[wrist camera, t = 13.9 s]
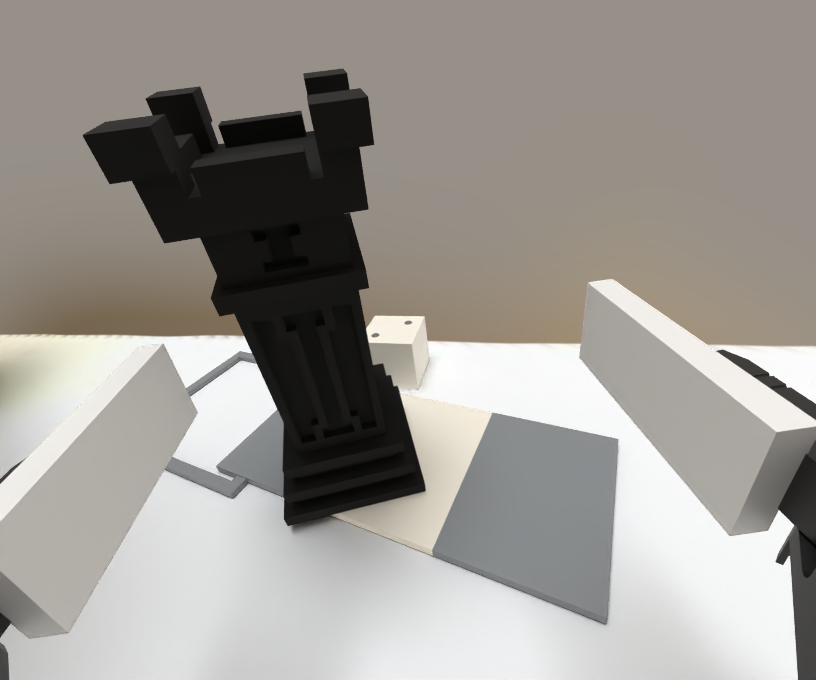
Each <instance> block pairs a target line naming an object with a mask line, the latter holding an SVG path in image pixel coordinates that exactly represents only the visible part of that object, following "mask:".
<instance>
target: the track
mask: <svg viewBox="0 0 816 680" xmlns="http://www.w3.org/2000/svg"><path fill="white" fill-rule="evenodd" d="M400 396H401V399H402V403H403V407H404V410H405V414H406V417H407V421H408V424H409V428H410V432H411V435H412V439H413V442H414V446H415V450H416V453H417V457H418V460H419V464H420V467H421V471H422V475H423V478H424V482H425V488H426V491H424V492H420V493H416V494H413V495H409V496H405V497H401V498H397V499H393V500H389V501H385V502H381V503H377V504H373V505H369V506H365V507H361V508H357V509H353V510H349V511H345V512H341V513H337V514H333V515H331V516H333V517H336V518H338V519H341V520H343V521H346V522H348V523H351V524H353V525H356V526H358V527H361V528H364V529H366V530H369V531H371V532H374V533H376V534H379V535H381V536H384V537H386V538H389V539H391V540H394V541H396V542H399V543H401V544H404V545H407V546H409V547H412V548H414V549H417V550H419V551H422V552H424V553H427V554H429V555H432V556H434V557H437V558H439V559H442V560H444V561H447V562H450V563H452V564H455V565H457V566H460V567H462V568H465V569H467V570H470V571H472V572H475V573H477V574H480V575H482V576H485V577H488V578H490V579H493V580H495V581H498V582H500V583H503V584H505V585H508V586H510V587H513V588H515V589H518V590H520V591H523V592H525V593H528V594H531V595H533V596H536V597H538V598H541V599H543V600H546V601H548V602H551V603H553V604H556V605H558V606H561V607H563V608H566V609H569V610H571V611H574V612H576V613H579V614H581V615H584V616H586V617H589V618H591V619H594V620H596V621H599V622H601V623H604V624H606V621H607V614H608V598H609V582H610V566H611V550H612V534H613V518H614V502H615V485H616V469H617V453H618V439H615V438H611V437H606V436H601V435H596V434H592V433H587V432H582V431H577V430H573V429H568V428H563V427H559V426H554V425H549V424H544V423H540V422H535V421H530V420H525V419H521V418H516V417H511V416H506V415H502V414H497V413H492V412H487V411H483V410H478V409H473V408H468V407H464V406H459V405H454V404H449V403H445V402H440V401H435V400H431V399H426V398H421V397H416V396H412V395H407V394H402V393H400ZM283 428H284V423H283V420H282V418H281V416H280V414H279V411H278V410H277V411H276V412H274V413H273V414H272V415H271V416H270V417H269V418H268V419H267V420H266V421H265V422H264V423H263V424H261V425H260V426H259V427H258V428H257V429H256V430H255V431H254V432H253V433H252V434H251V435H249V436H248V437H247V438H246V439H245V440H244V441H243V442H242V443H241V444H240V445H239V446H238V447H236V448H235V449H234V450H233V451H232V452H231V453H230V454H229V455H228V456H227V457H226V458H224V459H223V460H222V461H221V462H220V463H219V464H218V465H217V466H216V467H217V469H218V471H219V472H222V473H224V474H227V475H229V476H232V477H234V478H235V477H236V476H237V475H238V476H240V477H243V478H246V480H247V482H248V483H250V484H252V485H255V486H257V487H260V488H262V489H265V490H267V491H270V492H272V493H275V494H277V495H280V496H283V485H284V473H283V471H282V469H283ZM283 497H284V496H283Z"/></svg>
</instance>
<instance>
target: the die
mask: <svg viewBox="0 0 816 680" xmlns="http://www.w3.org/2000/svg"><path fill="white" fill-rule="evenodd" d="M366 331H367V337H368V342H369V347H370V352H371V357H372V363H373V365H376V364H381V363H383V364H384V368H385V372H386V376H388V375H391V378H392V381H393V385H394V386H397V385H398V389H409V390H418V389H419V386H420V383H421V381H422V378H423V375H424V373H425V370H426V367H427V365H428V362H429V352H428V343H427V334H426V326H425V317H424V316H423V317H421V316H420V317H419V316H375V317H374V318H373V320H372V321H371V323H370V324H369V326H368V327H367V329H366Z"/></svg>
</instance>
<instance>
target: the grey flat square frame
mask: <svg viewBox="0 0 816 680" xmlns="http://www.w3.org/2000/svg"><path fill="white" fill-rule="evenodd" d="M240 360H244V361H249V362H253V363H256V361H255V358H254V356H253V354H251V353H246V352H241V351H240V352H238V353H237V354H235V355H234V356H232V357H231V358H230V359H228V360H227V361H225V362H224V363H222V364H221V365H219V366H218V367H216V368H215V369H214V370H212V371H211V372H209V373H208V374H206V375H205V376H203V377H202V378H201V379H199V380H198V381H196V382H195V383H193V384H192V385H190V386H189V387H187V388H186V390H187V392H188V394H189V396H191V395H192V394H194V393H195V392H197V391H198V390H199V389H201V388H202V387H204V386H205V385H206V384H208V383H209V382H211V381H212V380H213V379H215V378H216V377H218V376H219V375H220V374H222V373H223V372H225V371H226V370H227V369H229V368H230V367H232V366H233V365H234V364H236V363H237V362H239V361H240ZM165 470H167V471H170V472H172V473H174V474H177V475H179V476H181V477H184V478H186V479H188V480H191V481H193V482H195V483H198V484H200V485H202V486H205V487H207V488H209V489H212V490H214V491H216V492H219V493H221V494H223V495H226V496H228V497H230V498H234V497H235V496H236V495H237V494H238V493H239V492H240V491H241V490H242V489H243V488H244V487H245V486H246V484H247V483H248V482H247V480H246V478H243V477H240V476H238V475H237V476H236V477H235V478H234V479H233V480H232V481H230V480H228V479H225V478H223V477H220V476H218V475H215V474H213V473H210V472H208V471H205V470H203V469H200V468H198V467H195V466H193V465H190V464H188V463H185V462H183V461H180V460H178V459H175V458H173V457H172V458H171V459H170V461H169V463H168V464H167V466H166V468H165Z"/></svg>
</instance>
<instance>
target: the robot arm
mask: <svg viewBox="0 0 816 680" xmlns="http://www.w3.org/2000/svg"><path fill="white" fill-rule="evenodd" d="M579 358H580V359H581V360H582V361H583V363H584V364H585V365H586V366H587V367H588V369H589V370H590V371H591V372H592V373H593V374H594V376H595V377H596V378H597V379H598V380H599V382H600V383H601V384H602V385H603V386H604V388H605V389H606V390H607V391H608V392H609V393H610V395H611V396H612V397H613V398H614V399H615V401H616V402H617V403H618V404H619V405H620V407H621V408H622V409H623V410H624V411H625V412H626V414H627V415H628V416H629V417H630V418H631V420H632V421H633V422H634V423H635V424H636V426H637V427H638V428H639V429H640V430H641V431H642V433H643V434H644V435H645V436H646V437H647V439H648V440H649V441H650V442H651V443H652V445H653V446H654V447H655V448H656V449H657V450H658V452H659V453H660V454H661V455H662V456H663V458H664V459H665V460H666V461H667V462H668V464H669V465H670V466H671V467H672V468H673V469H674V471H675V472H676V473H677V474H678V475H679V477H680V478H681V479H682V480H683V481H684V483H685V484H686V485H687V486H688V487H689V488H690V490H691V491H692V492H693V493H694V494H695V496H696V497H697V498H698V499H699V500H700V502H701V503H702V504H703V505H704V506H705V507H706V509H707V510H708V511H709V512H710V513H711V515H712V516H713V517H714V518H715V519H716V520H717V522H718V523H719V524H720V525H721V526H722V528H723V529H724V530H725V531H726V532H727V534H728V535H729V536H734V535H741V534H748V533H754V532H761V531H768V529H769V528H770V526H771V524H772V522H773V520H774V518H775V516H776V514H777V512H778V510H780V511H781V512H782V513H783V514H784V515H785V516H786V517H787V518H788V519H789V520H790V521H791V522H792V523H793V524H794V527H793V529H792V530H791V532H790V534H789V536H788V537H787V539H786V541H785V543H784V544H783V546H782V548H781V550H780V551H779V553H778V556H777V559H776V563H779V564H782V565H783V564H784V563H785V561H786V559H787V558H788V556H790V559H791V575H792V591H793V606H794V622H795V638H796V653H797V669H798V680H816V404H815V403H814V402H812V401H810V400H809V399H807V398H806V397H804V396H803V395H801V394H800V393H798V392H797V391H795V390H794V389H792V388H791V387H790V388H787V387H786V384H785V383H783V382H782V381H780V380H779V379H777V378H775V377H774V376H769V373H768V372H766V371H765V370H763V369H762V368H760V367H759V366H757V365H756V364H754V363H753V362H751V361H750V360H748V359H745V358H743V357H740V356H738V355H735V354H732V353H730V352H727V351H725V350H718V351H715V350H714V349H712V348H711V347H710V346H708V345H707V344H705V343H704V342H702V341H701V340H699V339H698V338H696V337H695V336H694V335H692V334H691V333H689V332H688V331H686V330H685V329H684V328H682V327H681V326H679V325H678V324H676V323H675V322H674V321H672V320H671V319H669V318H668V317H666V316H665V315H663V314H662V313H661V312H659V311H657V310H656V309H655V308H653V307H652V306H650V305H649V304H648V303H646V302H645V301H643V300H642V299H640V298H639V297H637V296H636V295H635V294H633V293H632V292H630V291H629V290H627V289H626V288H624V287H623V286H622V285H620V284H619V283H617V282H616V281H614V280H613V279H609V280H602V281H595V282H589V283H588V284H587V294H586V302H585V311H584V322H583V330H582V339H581V348H580V357H579ZM197 413H198V412H197V410H196V408H195V406H194V404H193V402H192V400H191V398H190V396H189V394H188V392H187V390H186V388H185V386H184V384H183V382H182V380H181V378H180V376H179V374H178V372H177V370H176V368H175V366H174V364H173V362H172V360H171V358H170V356H169V354H168V352H167V350H166V348H165V346H164V344H156V345H149V346H142V347H138V348H137V349H136V350H135V351H134V352H133V353H132V354H131V355H130V356H129V357H128V358H127V359H126V360H125V361H124V362H123V363H122V364H121V365H120V366H119V367H118V368H117V369H116V370H115V371H114V372H113V373H112V374H111V375H110V376H109V377H108V378H107V379H106V380H105V381H104V382H103V383H102V384H101V385H100V386H99V387H98V388H97V389H96V390H95V391H94V392H93V393H92V394H91V395H89V396H88V397H87V398H86V399H85V400H84V401H83V402H82V403H81V404H80V405H79V406H78V407H77V408H76V409H75V410H74V411H73V412H72V413H71V414H70V415H69V416H68V417H67V418H66V419H65V420H64V421H63V422H62V423H61V424H60V425H59V426H58V427H57V428H56V429H55V430H54V431H53V432H52V433H51V434H50V435H49V436H48V437H47V438H46V439H45V440H44V441H43V442H42V443H41V444H40V445H39V446H38V447H37V448H36V449H35V450H34V451H33V452H32V453H31V454H30V455H29V456H28V457H27V458H25V459H24V460H23V461H21V462H20V463H18V464H17V465H15V466H14V467H13V468H11V469H10V470H9V471H8V472H7V473H6V474H5V475H4V476H3V477H2V478H1V479H0V637H1V636H2V634H3V633H4V632H5V630H6V629H7V627H8V626H9V625H10V623H11V624H12V625H14V626H15V627H16V628H17V629H18V630H20V631H21V632H22V633H23V634H24V635H26V636H27V637H28V638H29V639H31V638H38V637H45V636H52V635H59V634H65V633H69V631H70V630H71V628H72V626H73V624H74V623H75V621H76V619H77V618H78V616H79V614H80V613H81V611H82V609H83V607H84V606H85V604H86V602H87V601H88V599H89V597H90V596H91V594H92V592H93V590H94V589H95V587H96V585H97V584H98V582H99V580H100V578H101V577H102V575H103V573H104V572H105V570H106V568H107V567H108V565H109V563H110V561H111V560H112V558H113V556H114V555H115V553H116V551H117V550H118V548H119V546H120V544H121V543H122V541H123V539H124V538H125V536H126V534H127V532H128V531H129V529H130V527H131V526H132V524H133V522H134V521H135V519H136V517H137V515H138V514H139V512H140V510H141V509H142V507H143V505H144V504H145V502H146V500H147V498H148V497H149V495H150V493H151V492H152V490H153V488H154V486H155V485H156V483H157V481H158V480H159V478H160V476H161V475H162V473H163V471H164V469H165V468H166V466H167V464H168V463H169V461H170V459H171V458H172V456H173V454H174V452H175V451H176V449H177V447H178V446H179V444H180V442H181V440H182V439H183V437H184V435H185V434H186V432H187V430H188V429H189V427H190V425H191V423H192V422H193V420H194V418H195V417H196V415H197ZM0 680H9V666H8V653H7V650H6V648H5V646H4V645H3V644H1V643H0Z"/></svg>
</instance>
